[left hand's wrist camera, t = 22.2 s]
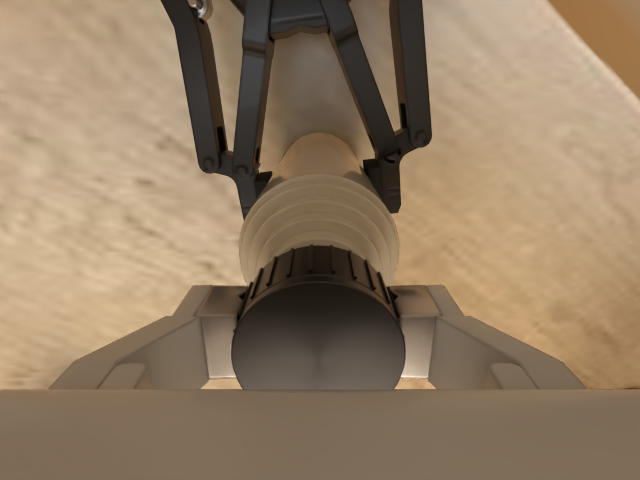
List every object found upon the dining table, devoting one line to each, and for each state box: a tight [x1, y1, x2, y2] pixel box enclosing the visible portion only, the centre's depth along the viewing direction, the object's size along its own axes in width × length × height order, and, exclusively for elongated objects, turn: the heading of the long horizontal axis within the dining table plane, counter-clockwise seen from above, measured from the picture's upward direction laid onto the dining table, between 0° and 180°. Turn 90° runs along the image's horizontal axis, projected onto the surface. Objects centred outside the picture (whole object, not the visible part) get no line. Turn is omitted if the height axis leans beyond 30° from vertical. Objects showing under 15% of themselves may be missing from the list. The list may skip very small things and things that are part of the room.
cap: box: [231, 244, 406, 389], centre depth 9 cm, size 4×4×2 cm
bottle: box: [239, 132, 399, 287], centre depth 19 cm, size 6×6×22 cm
